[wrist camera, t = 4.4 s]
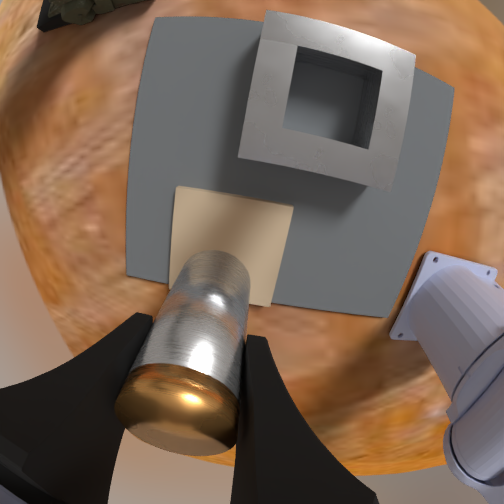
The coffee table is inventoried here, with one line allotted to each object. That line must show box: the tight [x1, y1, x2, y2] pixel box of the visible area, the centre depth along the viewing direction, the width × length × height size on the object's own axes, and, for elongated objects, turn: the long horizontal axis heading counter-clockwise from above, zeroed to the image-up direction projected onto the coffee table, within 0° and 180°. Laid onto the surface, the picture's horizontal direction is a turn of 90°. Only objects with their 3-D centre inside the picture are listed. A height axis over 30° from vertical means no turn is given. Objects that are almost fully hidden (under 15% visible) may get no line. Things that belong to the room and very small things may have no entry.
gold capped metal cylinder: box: [114, 250, 251, 456], centre depth 10 cm, size 3×3×8 cm
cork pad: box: [169, 186, 294, 307], centre depth 18 cm, size 7×7×1 cm
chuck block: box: [238, 10, 416, 192], centre depth 13 cm, size 8×8×3 cm
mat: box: [126, 17, 454, 318], centre depth 16 cm, size 20×18×1 cm
